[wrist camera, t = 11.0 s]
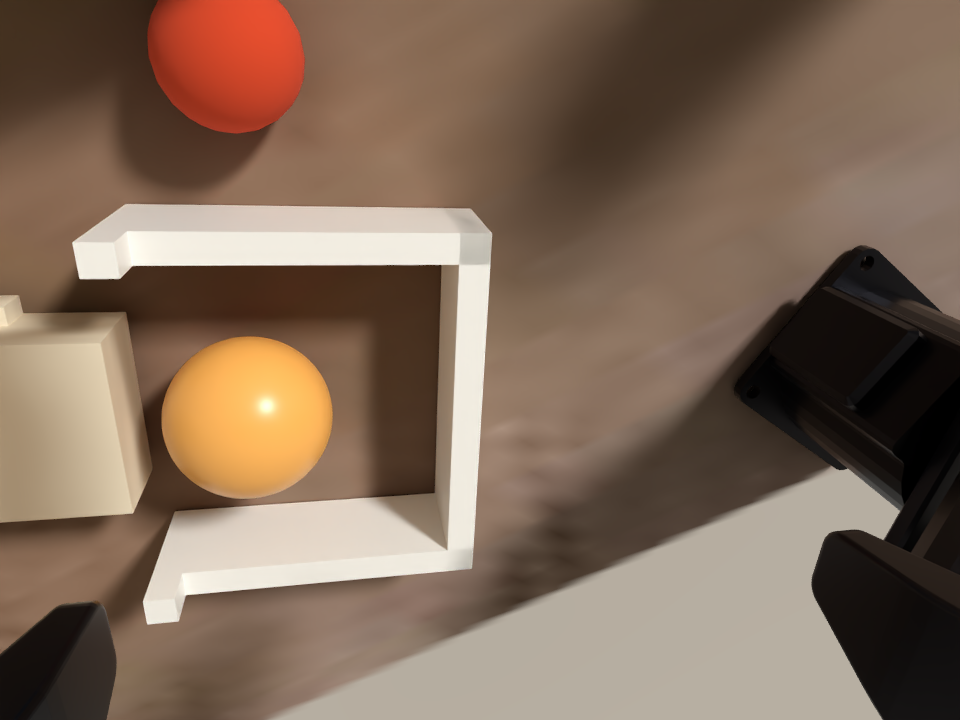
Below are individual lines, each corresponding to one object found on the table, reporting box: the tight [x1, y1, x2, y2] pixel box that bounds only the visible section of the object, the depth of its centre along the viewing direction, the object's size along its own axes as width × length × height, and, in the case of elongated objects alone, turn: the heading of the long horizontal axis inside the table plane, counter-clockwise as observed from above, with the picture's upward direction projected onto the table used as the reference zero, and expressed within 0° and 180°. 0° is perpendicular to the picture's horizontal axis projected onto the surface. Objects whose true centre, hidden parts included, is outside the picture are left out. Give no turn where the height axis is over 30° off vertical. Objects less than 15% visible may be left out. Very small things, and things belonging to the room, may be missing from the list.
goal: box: [72, 204, 492, 624], centre depth 19 cm, size 9×11×4 cm
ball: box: [162, 336, 333, 499], centre depth 18 cm, size 4×4×4 cm
